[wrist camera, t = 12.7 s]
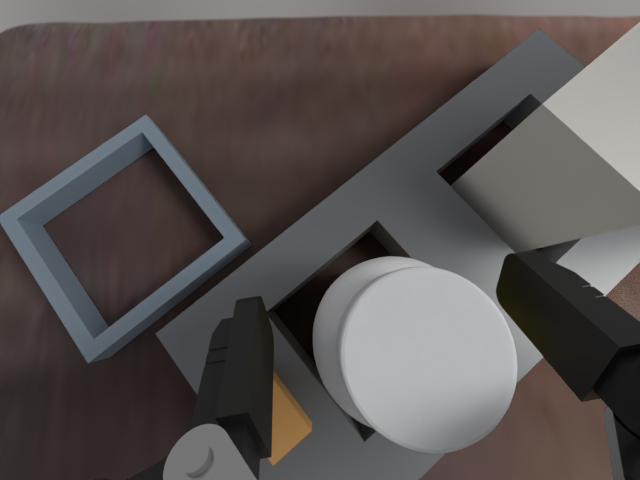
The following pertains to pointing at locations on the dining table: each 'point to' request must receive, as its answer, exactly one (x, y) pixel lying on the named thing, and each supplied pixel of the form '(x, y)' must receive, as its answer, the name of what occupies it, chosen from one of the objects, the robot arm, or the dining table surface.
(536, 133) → the socket strip
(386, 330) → the supplement bottle
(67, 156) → the dining table surface
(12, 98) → the dining table surface
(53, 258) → the blue-grey square frame
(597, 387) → the robot arm
